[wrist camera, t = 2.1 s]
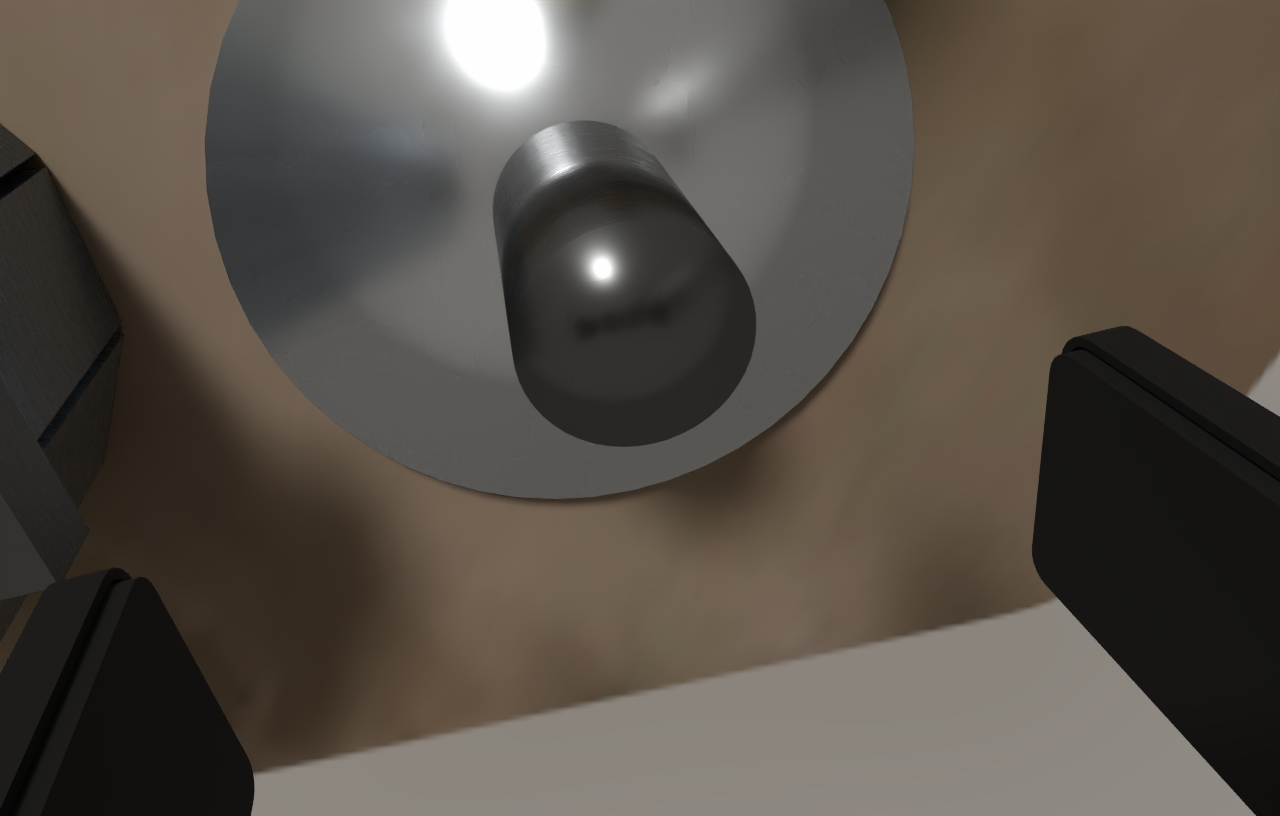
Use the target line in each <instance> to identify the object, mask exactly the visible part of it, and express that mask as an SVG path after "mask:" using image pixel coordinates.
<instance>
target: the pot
mask: <svg viewBox="0 0 1280 816" xmlns="http://www.w3.org/2000/svg"><path fill="white" fill-rule="evenodd" d="M34 154H35V152H33V151H32V150H31V149H30V148H28V147H27V146H26V145H25V144H24V143H22V142H21V141H20V140H19V139H17V138H16V137H15V136H14V135H13V134H11V133H10V132H9V131H8V130H6V129H5V128H4V127H3V126H2V125H0V642H1V640H2V638H3V636H4V635H5V633H6V631H7V629H8V628H9V626H10V624H11V623H12V621H13V619H14V617H15V616H16V614H17V612H18V610H19V609H20V607H21V605H22V603H23V602H24V600H25V598H26V597H27V595H28V594H30V593H34V592H39V591H43V590H45V589H46V588H47V587H48V585H50V584H52V583H54V582H57V581H61V580H63V579H64V577H65V575H66V573H67V572H68V570H69V568H70V566H71V564H72V562H73V560H74V559H75V557H76V555H77V553H78V551H79V549H80V548H81V546H82V544H83V542H84V540H85V538H86V536H87V535H88V533H89V529H88V527H87V526H86V524H85V522H84V520H83V519H82V517H81V515H80V514H79V512H78V510H77V508H78V506H79V505H80V503H81V501H82V500H83V498H84V496H85V494H86V493H87V491H88V489H89V487H90V486H91V484H92V482H93V480H94V479H95V477H96V475H97V474H98V472H99V470H100V468H101V466H102V465H103V462H104V456H105V450H106V443H107V437H108V431H109V424H110V418H111V412H112V405H113V399H114V393H115V387H116V380H117V374H118V368H119V361H120V355H121V349H122V342H123V336H124V335H122V334H118V333H114V332H115V331H116V330H117V328H118V327H119V325H120V324H121V323H122V322H121V320H120V318H119V316H118V314H117V312H116V310H115V308H114V306H113V304H112V302H111V300H110V297H109V295H108V293H107V291H106V289H105V287H104V285H103V283H102V281H101V279H100V277H99V275H98V273H97V271H96V269H95V266H94V264H93V262H92V260H91V258H90V256H89V254H88V252H87V250H86V248H85V246H84V244H83V242H82V240H81V238H80V235H79V233H78V231H77V229H76V227H75V225H74V223H73V221H72V219H71V217H70V215H69V213H68V211H67V209H66V207H65V204H64V202H63V200H62V198H61V196H60V194H59V192H58V190H57V188H56V186H55V184H54V182H53V180H52V178H51V176H50V173H49V171H48V169H47V167H41V168H36V169H31V170H25V171H20V172H17V171H18V170H19V169H20V168H21V167H22V166H23V165H24V164H25V163H26V162H27V161H28V160H29V159H30V158H31V157H32V156H33V155H34Z"/></svg>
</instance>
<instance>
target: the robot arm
mask: <svg viewBox="0 0 1280 816" xmlns="http://www.w3.org/2000/svg"><path fill="white" fill-rule="evenodd" d="M1032 557H1033V562H1034V565H1035V568H1036V570H1037V572H1038V574H1039V576H1040V578H1041V579H1042V581H1043V582H1044V583H1045V585H1046V586H1047V587H1048V588H1049V589H1050V590H1051V591H1052V592H1053V593H1054V594H1055V596H1056V597H1057V598H1058V599H1059V600H1060V601H1061V602H1062V603H1063V604H1064V605H1065V606H1066V608H1068V610H1069V611H1070V612H1071V613H1072V614H1073V615H1074V616H1075V617H1076V619H1077V620H1079V622H1080V623H1081V624H1082V625H1083V626H1084V627H1085V628H1086V630H1088V632H1089V633H1090V634H1091V635H1092V636H1093V637H1094V638H1095V639H1096V640H1097V642H1098V643H1099V644H1100V645H1101V646H1102V647H1103V648H1104V649H1105V650H1106V651H1107V652H1108V654H1109V655H1110V656H1111V657H1112V658H1113V659H1114V660H1115V661H1116V662H1117V664H1119V666H1120V667H1121V668H1122V669H1123V670H1124V671H1125V672H1126V673H1127V675H1129V677H1130V678H1131V679H1132V680H1133V681H1134V682H1135V683H1136V684H1137V685H1138V687H1140V689H1141V690H1142V691H1143V692H1144V693H1145V694H1146V695H1147V696H1148V698H1149V699H1151V701H1152V702H1153V703H1154V704H1155V705H1156V706H1157V707H1158V708H1159V710H1160V711H1161V712H1162V713H1163V714H1164V715H1165V716H1166V717H1167V718H1168V719H1169V720H1170V722H1171V723H1172V724H1173V725H1174V726H1175V727H1176V728H1177V729H1178V730H1179V731H1180V733H1181V734H1182V735H1183V736H1184V737H1185V738H1186V739H1187V740H1188V741H1189V743H1190V744H1191V745H1192V746H1193V747H1194V748H1195V749H1196V750H1197V751H1198V752H1199V753H1200V755H1202V757H1203V758H1204V759H1205V760H1206V761H1207V762H1208V763H1209V764H1210V766H1211V767H1212V768H1213V769H1214V770H1215V771H1216V772H1217V773H1218V774H1219V775H1220V776H1221V778H1222V779H1223V780H1224V781H1225V782H1226V783H1227V784H1228V785H1229V786H1230V787H1231V789H1233V791H1234V792H1235V793H1236V794H1237V795H1238V796H1239V797H1240V798H1241V800H1242V801H1243V802H1244V803H1245V804H1246V805H1247V806H1248V807H1249V808H1250V809H1251V811H1253V813H1254V814H1255V815H1256V816H1280V417H1279V416H1278V415H1276V414H1274V413H1273V412H1271V411H1269V410H1268V409H1266V408H1264V407H1263V406H1261V405H1259V404H1258V403H1256V402H1255V401H1253V400H1251V399H1250V398H1248V397H1246V396H1245V395H1243V394H1241V393H1240V392H1238V391H1237V390H1235V389H1233V388H1232V387H1230V386H1228V385H1227V384H1225V383H1223V382H1222V381H1220V380H1218V379H1217V378H1215V377H1213V376H1212V375H1210V374H1209V373H1207V372H1205V371H1204V370H1202V369H1200V368H1199V367H1197V366H1195V365H1194V364H1192V363H1190V362H1189V361H1187V360H1186V359H1184V358H1182V357H1181V356H1179V355H1177V354H1176V353H1174V352H1172V351H1171V350H1169V349H1167V348H1166V347H1164V346H1162V345H1161V344H1159V343H1158V342H1156V341H1154V340H1153V339H1151V338H1149V337H1148V336H1146V335H1144V334H1143V333H1141V332H1139V331H1138V330H1136V329H1134V328H1131V327H1129V326H1120V327H1115V328H1111V329H1107V330H1103V331H1099V332H1094V333H1090V334H1086V335H1082V336H1078V337H1074V338H1072V339H1071V340H1069V341H1068V342H1067V343H1066V345H1065V346H1064V348H1063V351H1062V354H1061V355H1058V356H1057V357H1055V358H1054V360H1053V362H1052V363H1051V368H1050V374H1049V384H1048V394H1047V404H1046V414H1045V424H1044V434H1043V444H1042V454H1041V464H1040V474H1039V483H1038V493H1037V503H1036V513H1035V523H1034V533H1033V543H1032ZM253 800H254V777H253V771H252V767H251V764H250V761H249V759H248V757H247V755H246V753H245V751H244V749H243V747H242V746H241V744H240V742H239V740H238V738H237V737H236V735H235V733H234V731H233V729H232V727H231V726H230V724H229V722H228V720H227V718H226V717H225V715H224V713H223V711H222V709H221V707H220V706H219V704H218V702H217V700H216V698H215V697H214V695H213V693H212V691H211V689H210V687H209V686H208V684H207V682H206V680H205V678H204V676H203V675H202V673H201V671H200V669H199V667H198V666H197V664H196V662H195V660H194V658H193V656H192V655H191V653H190V651H189V649H188V647H187V646H186V644H185V642H184V640H183V638H182V636H181V635H180V633H179V631H178V629H177V627H176V626H175V624H174V622H173V620H172V618H171V616H170V615H169V613H168V611H167V609H166V607H165V606H164V604H163V602H162V600H161V598H160V596H159V595H158V593H157V591H156V589H155V588H154V586H153V585H152V583H151V582H150V581H149V580H148V579H146V578H144V577H138V578H134V579H132V578H131V577H130V575H129V574H128V573H126V572H125V571H124V570H123V569H120V568H111V569H107V570H103V571H98V572H94V573H90V574H86V575H82V576H77V577H73V578H69V579H65V580H61V581H57V582H54V583H52V584H50V585H48V587H47V588H46V589H45V591H44V592H43V593H42V595H41V597H40V599H39V601H38V603H37V605H36V607H35V609H34V611H33V613H32V614H31V616H30V618H29V620H28V622H27V624H26V626H25V628H24V630H23V632H22V634H21V635H20V637H19V639H18V641H17V643H16V645H15V647H14V649H13V651H12V653H11V655H10V656H9V658H8V660H7V662H6V664H5V666H4V668H3V670H2V672H1V674H0V816H251V811H252V805H253Z"/></svg>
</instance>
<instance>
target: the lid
mask: <svg viewBox="0 0 1280 816" xmlns="http://www.w3.org/2000/svg"><path fill="white" fill-rule="evenodd" d="M205 156H206V183H207V194H208V199H209V205H210V210H211V216H212V221H213V227H214V232H215V238H216V241H217V244H218V247H219V250H220V253H221V256H222V259H223V262H224V265H225V268H226V271H227V274H228V277H229V280H230V283H231V285H232V287H233V289H234V291H235V293H236V295H237V297H238V300H239V302H240V304H241V306H242V308H243V310H244V312H245V314H246V316H247V318H248V320H249V322H250V324H251V326H252V327H253V329H254V330H255V332H256V333H257V335H258V336H259V338H260V339H261V341H262V342H263V344H264V345H265V347H266V348H267V350H268V351H269V353H270V354H271V356H272V358H273V359H274V361H275V362H276V363H277V364H278V365H279V366H280V368H281V369H282V370H283V371H284V372H285V373H286V375H287V376H288V377H289V378H290V379H291V380H292V382H293V383H294V384H295V385H296V386H297V387H298V389H299V390H300V391H301V392H302V393H303V394H304V395H305V396H306V397H307V398H308V399H309V400H310V401H311V402H313V403H314V404H315V405H316V406H317V407H318V408H319V409H320V410H321V411H323V412H324V413H325V414H326V415H327V416H328V417H329V418H330V419H331V420H332V421H334V422H335V423H336V424H337V425H339V426H340V427H342V428H343V429H345V430H346V431H347V432H349V433H350V434H352V435H353V436H355V437H356V438H357V439H359V440H360V441H362V442H363V443H364V444H366V445H367V446H369V447H371V448H372V449H374V450H376V451H378V452H380V453H382V454H383V455H385V456H387V457H389V458H391V459H393V460H395V461H396V462H398V463H400V464H402V465H404V466H406V467H408V468H411V469H413V470H416V471H418V472H421V473H424V474H426V475H429V476H431V477H434V478H436V479H439V480H441V481H444V482H448V483H452V484H455V485H459V486H463V487H466V488H470V489H474V490H477V491H482V492H488V493H494V494H501V495H507V496H514V497H523V498H545V499H566V498H582V497H597V496H602V495H608V494H614V493H620V492H626V491H632V490H636V489H639V488H643V487H646V486H650V485H654V484H657V483H661V482H664V481H668V480H671V479H673V478H676V477H678V476H681V475H683V474H686V473H688V472H691V471H693V470H696V469H698V468H701V467H703V466H706V465H708V464H709V463H711V462H713V461H715V460H717V459H719V458H721V457H723V456H725V455H726V454H728V453H730V452H732V451H734V450H736V449H738V448H740V447H741V446H743V445H744V444H746V443H747V442H749V441H750V440H751V439H753V438H754V437H756V436H757V435H759V434H760V433H762V432H763V431H765V430H766V429H768V428H769V427H771V426H772V425H773V424H774V423H776V422H777V421H778V420H779V419H780V418H782V417H783V416H784V415H785V414H786V413H788V412H789V411H790V410H791V409H792V408H793V407H795V406H796V405H797V404H798V403H799V402H801V401H802V400H803V398H804V397H805V396H806V395H807V394H808V393H809V392H810V391H811V390H812V389H813V388H814V387H815V386H816V385H817V384H818V383H819V382H820V381H821V380H822V379H823V378H824V377H825V376H826V375H827V373H828V372H829V371H830V370H831V368H832V367H833V366H834V364H835V363H836V362H837V361H838V359H839V358H840V357H841V355H842V354H843V353H844V351H845V350H846V349H847V348H848V346H849V345H850V344H851V342H852V341H853V339H854V337H855V336H856V334H857V333H858V331H859V329H860V328H861V326H862V324H863V323H864V321H865V319H866V318H867V316H868V314H869V313H870V311H871V309H872V308H873V306H874V304H875V301H876V299H877V297H878V295H879V293H880V291H881V288H882V286H883V284H884V282H885V280H886V278H887V275H888V273H889V271H890V268H891V265H892V262H893V259H894V256H895V253H896V250H897V247H898V244H899V241H900V238H901V235H902V232H903V227H904V222H905V217H906V212H907V207H908V202H909V197H910V192H911V184H912V172H913V159H914V126H913V104H912V97H911V91H910V86H909V80H908V74H907V69H906V63H905V58H904V54H903V51H902V48H901V45H900V42H899V39H898V35H897V32H896V29H895V26H894V23H893V20H892V17H891V13H890V11H889V9H888V7H887V5H886V3H885V1H884V0H239V2H238V5H237V7H236V9H235V12H234V14H233V16H232V19H231V21H230V24H229V26H228V28H227V31H226V33H225V35H224V38H223V41H222V45H221V49H220V53H219V57H218V61H217V65H216V69H215V72H214V76H213V80H212V84H211V88H210V96H209V105H208V115H207V124H206V134H205Z"/></svg>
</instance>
